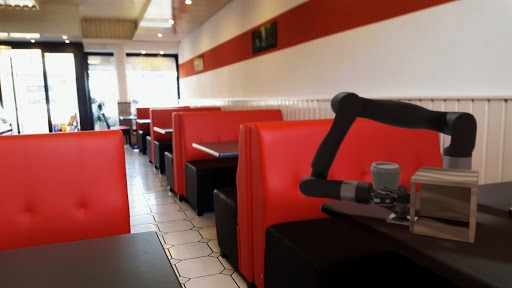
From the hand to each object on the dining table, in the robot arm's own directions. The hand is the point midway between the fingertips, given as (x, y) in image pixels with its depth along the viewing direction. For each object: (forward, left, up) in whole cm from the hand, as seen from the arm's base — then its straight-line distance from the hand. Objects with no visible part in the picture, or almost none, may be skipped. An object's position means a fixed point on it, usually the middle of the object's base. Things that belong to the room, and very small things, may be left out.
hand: (411, 199), depth 116 cm
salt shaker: (0, -3, -7) cm, 8 cm away
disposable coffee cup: (-17, -12, -8) cm, 22 cm away
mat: (-1, -3, -7) cm, 8 cm away
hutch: (0, +9, -7) cm, 12 cm away
